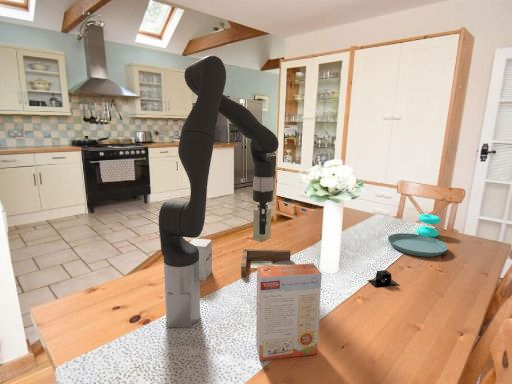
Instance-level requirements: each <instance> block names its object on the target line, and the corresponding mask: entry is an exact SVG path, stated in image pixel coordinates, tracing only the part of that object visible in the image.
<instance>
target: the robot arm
mask: <svg viewBox="0 0 512 384" xmlns="http://www.w3.org/2000/svg"><path fill="white" fill-rule="evenodd" d="M184 81H185V83H186V85H187V86H188V89H189V90H191V91H192V93H194V94H195V96H197V98H196V101H195V103H194V105H193V107H192V108H191V110H190V112H189V113H188V115H187V117H186V118H185V121H184V123H183V125H182V127H181V131H180V136H179V142H178V147H177V148H178V149H177V153H178V154H177V155H178V157H179V160H180V163H181V164H182V167H183V169H184V171H185V173H186V175H187V178H188V181H189V185H190V193H189V194H190V196H189V201H186V200H183V201H182V200H173V199H172V200H170V199H169V200H166V201H164V202H163V204H162V205H161V207H160V208H159V209H160V210H159V212H158V213H159V214H158V232H159V233H158V234H159V241H160V251H161V254H162V258H163V267H164V268H163V275H164V297H165V298H164V299H165V315H166V316H165V318H166V319H165V320H166V323H167V327H168V328H192V327H193V325H194V324H196V323H197V322H198V321H199V319H201V294H200V293H201V291H200V290H201V288H200V285H201V284H200V282H201V280H200V279H199V250H198V248H197V247H196V246H195V245H193V244H191V243H189V242H190V241H188V240H186V239H185V238H192V239H194V238H196V239H197V238H198V237H200V235H201V234H202V233H203V230H204V226H205V220H206V209H207V195H208V184H209V174H210V170H211V169H210V168H211V162H212V156H213V152H214V143H215V139H216V138H215V136H216V128H217V123H218V117H219V114H221V115H222V116H223V117H225V118H226V119H227V120H228V121H229V122H230V123H231V124H232V125H233V127H235V128H236V129H237V130H238V131H239V132H240V134H241V135H243V136H244V137H245V138H246V139H249V140H250V144H249V145H250V146H249V147H250V152H251V157H252V163H253V165H254V166H253V180H252V201H253V202H255V203H258V204H257V207H256V208H257V210H259V211H260V215H259V211H258V219H259V234H263V235H264V234H265V227H266V224H267V222H266V219H267V211H268V208H269V205H268V204H267V203H271V202H273V200H274V163H273V161H272V160H270V159H268V157H267V155H269V154H270V155H271V154H274V153H275V152H277V151H278V149H279V140H278V139H279V138H278V137H277V136H276V134H275V133H274V132H273V131H271V129H270V128H268V127H267V126H265V125H264V124H262V123H261V122H259V120H258V119H257V117H256V116H255V115H254V114H253V113H252V112H251V110H250V109H248V108H247V107H246V106H245V105H243V104H240V103H239V102H238V101H235V100H234V99H231V98H229V97H227V96H226V95H225V94H224V90H225V87H226V83H227V71H226V67H225V64H224V62H223V60H222V59H221V58H220V57H219V56H217V55H207V56H203V57H202V58H200V59H199V60H197V61H195V62H193V63H190V64H189V65H188V66H186V68H185V70H184ZM262 214H264V215H262ZM261 218H263V219H265V221H261Z"/></svg>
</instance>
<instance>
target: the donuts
mask: <svg viewBox="0 0 512 384" xmlns="http://www.w3.org/2000/svg"><path fill="white" fill-rule="evenodd" d="M418 220H419V221H420V222H421V223H423V224H426V225H439V224H440V223H441V222H442V220H441V217H440V216H439V215H434V214H430V213H428V214H427V213H423V214H419V215H418ZM426 225H424V226H420V227H418V228H416V232H417V233H416V234H418V235H423V236H427V237H431V238H436V237H439V234H440V232H439V230H437V229H436V228H435V227H431V226H426Z"/></svg>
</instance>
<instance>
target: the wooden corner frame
mask: <svg viewBox="0 0 512 384" xmlns="http://www.w3.org/2000/svg"><path fill="white" fill-rule="evenodd" d="M291 252H292V251H291V250H290V249H257V248H256V249H251V248H250V249H242V255H241V265H240V267H241V268H240V277H241V278H246V277H247V276H246V275H247V262H248V261H250V269H251V270H257V267H261V266H273V261H277V262H280V261H281V262H282V261H283V262H284V261H285V262H291Z"/></svg>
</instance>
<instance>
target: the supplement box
mask: <svg viewBox="0 0 512 384" xmlns="http://www.w3.org/2000/svg"><path fill="white" fill-rule="evenodd" d="M188 242H189V243H191V244H193V245H195V246H196V247H197V248H198V250H199V279H200V281H202V282H203V281H204V282H205V281H207V279H208V277H209V276H210V275H211V273H212V272H213V239H208V238H207V239H206V238H197V237H196V238H192V239H191V240H190V241H188Z"/></svg>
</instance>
